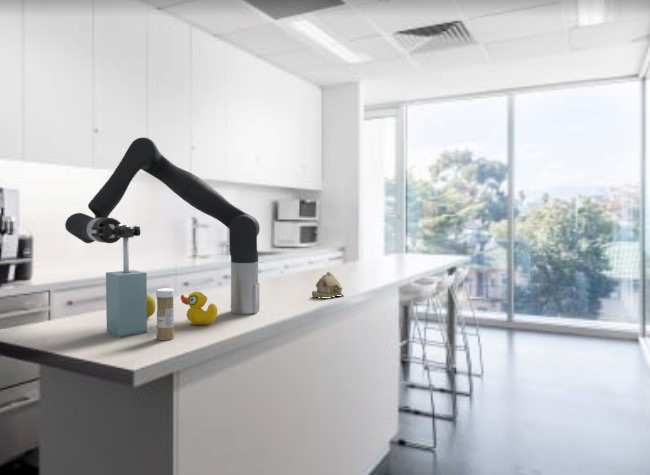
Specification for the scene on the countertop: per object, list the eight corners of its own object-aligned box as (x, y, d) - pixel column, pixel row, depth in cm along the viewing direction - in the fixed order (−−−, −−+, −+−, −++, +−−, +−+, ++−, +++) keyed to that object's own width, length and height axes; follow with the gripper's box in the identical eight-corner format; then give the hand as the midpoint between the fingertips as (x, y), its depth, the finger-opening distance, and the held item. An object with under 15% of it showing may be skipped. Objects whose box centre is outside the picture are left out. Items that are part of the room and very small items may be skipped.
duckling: (177, 325, 149) (177, 292, 148) (184, 321, 154) (184, 289, 154) (213, 327, 147) (213, 294, 147) (219, 323, 153) (219, 291, 152)
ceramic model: (325, 292, 212) (325, 269, 211) (348, 295, 206) (348, 271, 205) (307, 297, 200) (307, 273, 199) (331, 300, 194) (331, 275, 193)
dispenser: (106, 332, 140) (105, 272, 139) (134, 327, 146) (133, 270, 145) (119, 337, 135) (118, 275, 134) (146, 332, 140) (146, 272, 139)
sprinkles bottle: (153, 338, 134) (152, 289, 133) (168, 335, 137) (167, 287, 137) (162, 341, 131) (162, 291, 130) (177, 338, 134) (177, 289, 134)
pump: (116, 277, 139) (115, 226, 138) (129, 276, 142) (129, 226, 141) (126, 280, 135) (125, 227, 134) (140, 279, 138) (140, 226, 137)
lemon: (159, 318, 159) (159, 293, 159) (147, 321, 154) (147, 296, 153) (145, 316, 161) (144, 292, 160) (133, 320, 156) (132, 294, 155)
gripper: (79, 217, 143) (104, 218, 131) (127, 217, 153) (154, 218, 142) (79, 243, 144) (104, 247, 132) (127, 241, 154) (154, 244, 142)
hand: (130, 232), depth 137 cm, fingers closed on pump, 4 cm apart
